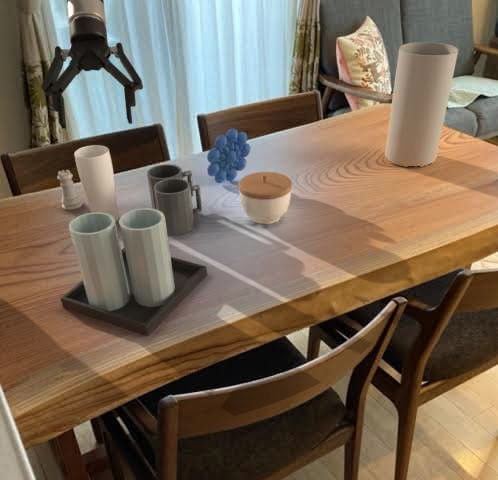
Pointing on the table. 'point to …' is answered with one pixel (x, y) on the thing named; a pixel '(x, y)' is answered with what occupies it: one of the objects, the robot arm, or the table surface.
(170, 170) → the grey mug far
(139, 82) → the robot arm
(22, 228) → the table surface
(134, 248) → the tumbler
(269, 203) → the trinket box
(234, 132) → the grapes
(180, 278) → the tray
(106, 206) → the drinking glass
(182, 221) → the grey mug near
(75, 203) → the rook chess piece
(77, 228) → the tumbler
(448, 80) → the cylinder vase
